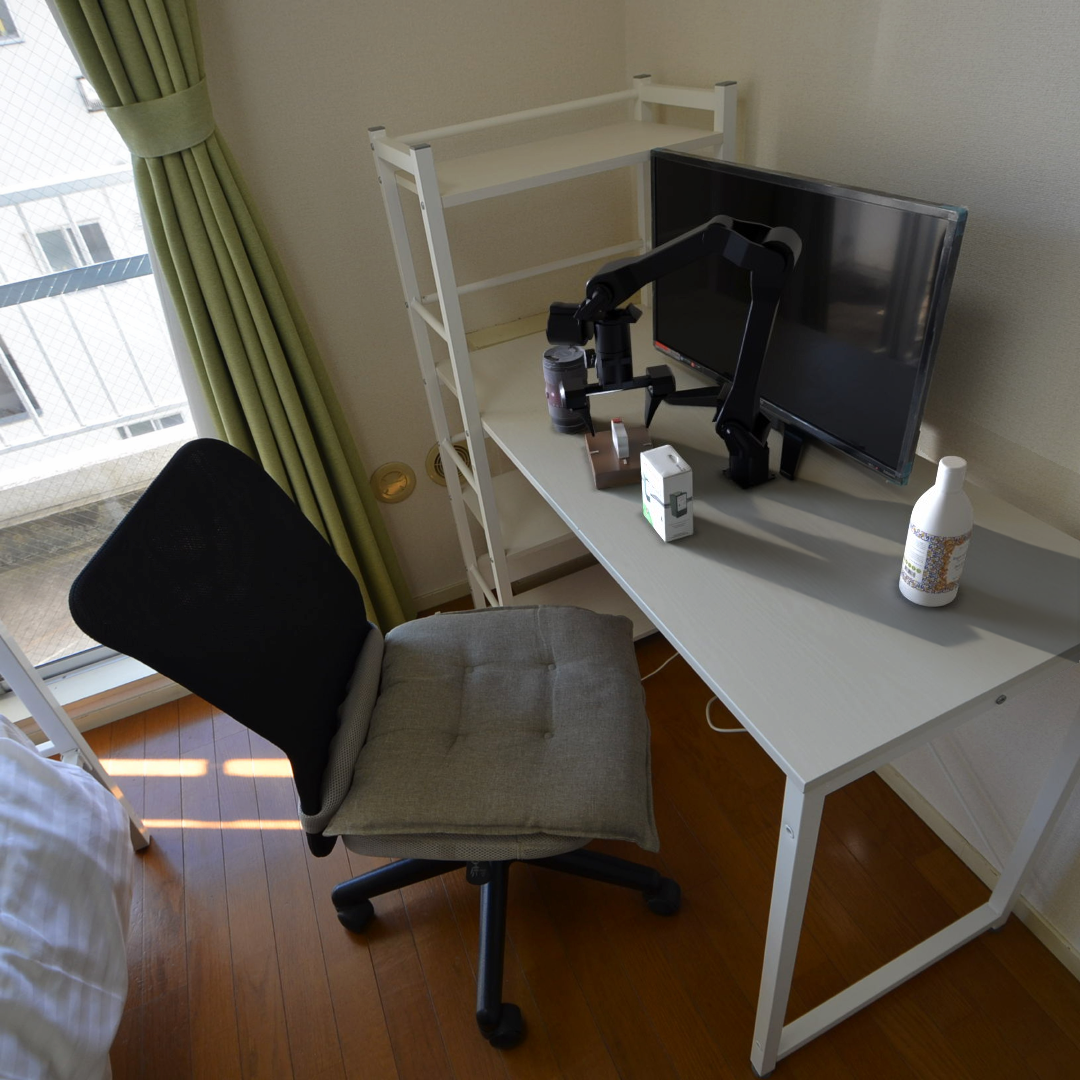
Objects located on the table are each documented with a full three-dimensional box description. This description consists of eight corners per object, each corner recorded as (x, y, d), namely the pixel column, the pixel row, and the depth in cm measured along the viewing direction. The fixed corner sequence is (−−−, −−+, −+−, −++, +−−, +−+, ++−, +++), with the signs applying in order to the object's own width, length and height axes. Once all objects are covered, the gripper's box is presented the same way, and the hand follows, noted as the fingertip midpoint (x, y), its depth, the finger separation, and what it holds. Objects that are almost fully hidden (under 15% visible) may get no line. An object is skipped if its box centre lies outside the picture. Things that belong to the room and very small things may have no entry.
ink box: (642, 514, 128) (638, 450, 121) (670, 505, 129) (668, 442, 122) (664, 543, 121) (662, 477, 114) (694, 534, 122) (693, 468, 115)
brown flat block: (660, 479, 135) (660, 463, 134) (596, 489, 136) (594, 473, 134) (645, 439, 147) (644, 424, 145) (586, 448, 147) (584, 433, 145)
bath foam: (934, 616, 102) (963, 484, 90) (887, 590, 107) (908, 462, 95) (967, 591, 105) (999, 461, 93) (919, 567, 110) (944, 440, 98)
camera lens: (571, 439, 150) (562, 365, 141) (542, 427, 155) (532, 355, 146) (601, 422, 154) (594, 349, 145) (572, 411, 159) (564, 339, 150)
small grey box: (629, 457, 137) (627, 435, 134) (618, 458, 137) (617, 436, 134) (623, 438, 142) (621, 417, 140) (613, 440, 142) (611, 418, 140)
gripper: (661, 319, 135) (664, 402, 144) (551, 335, 135) (561, 418, 144) (675, 344, 126) (678, 432, 135) (557, 362, 126) (568, 448, 135)
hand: (620, 431), depth 137 cm, fingers open, 9 cm apart
